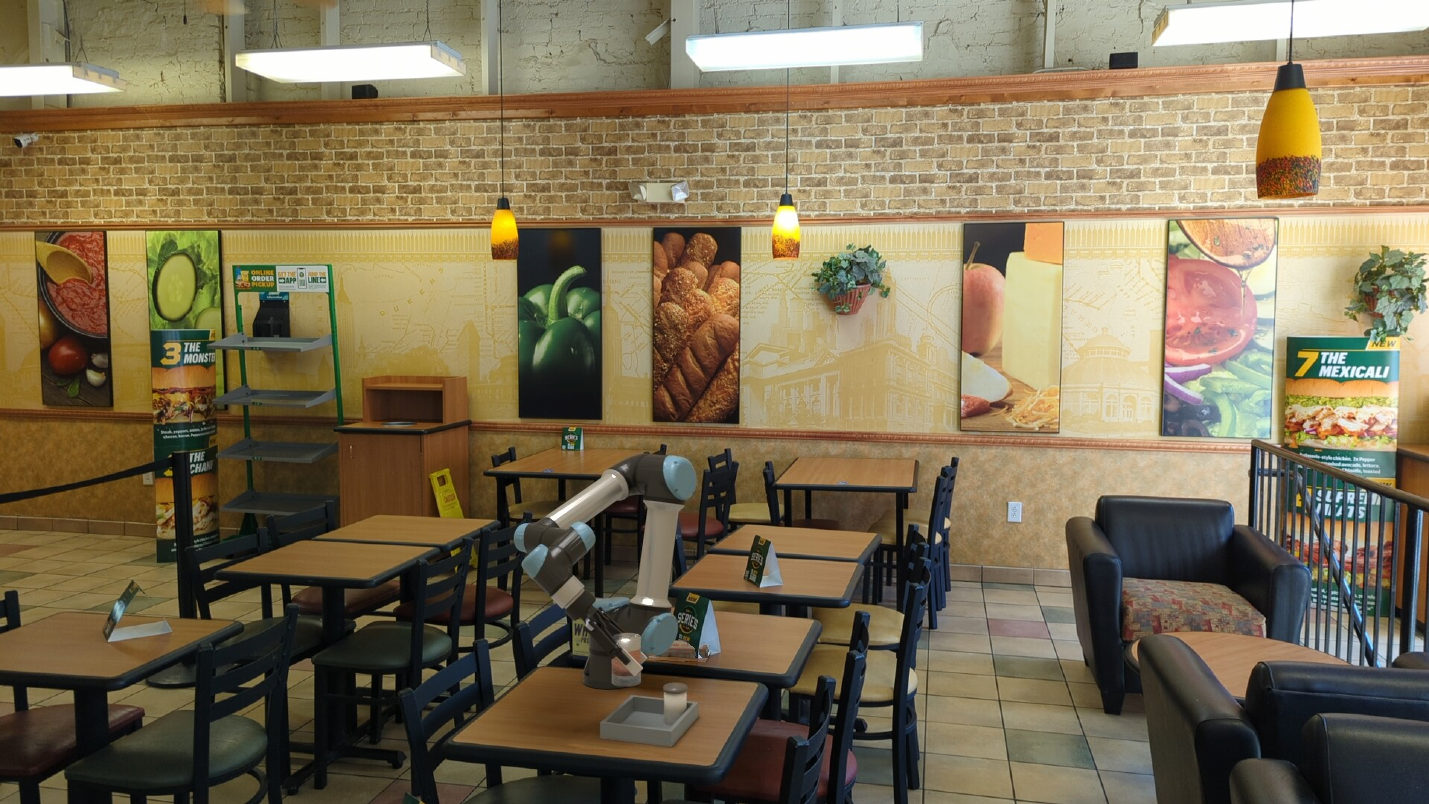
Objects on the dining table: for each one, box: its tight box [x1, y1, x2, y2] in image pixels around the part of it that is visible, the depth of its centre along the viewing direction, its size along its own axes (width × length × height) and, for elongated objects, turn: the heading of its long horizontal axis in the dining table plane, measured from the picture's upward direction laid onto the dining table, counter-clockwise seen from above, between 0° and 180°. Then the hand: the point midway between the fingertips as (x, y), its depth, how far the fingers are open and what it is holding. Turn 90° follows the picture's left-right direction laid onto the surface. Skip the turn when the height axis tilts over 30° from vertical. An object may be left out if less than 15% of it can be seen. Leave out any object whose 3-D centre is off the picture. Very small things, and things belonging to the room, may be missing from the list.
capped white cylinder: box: [663, 690, 688, 725], centre depth 245 cm, size 6×6×8 cm
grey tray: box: [599, 694, 699, 748], centre depth 241 cm, size 18×20×4 cm
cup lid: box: [662, 682, 688, 694], centre depth 245 cm, size 6×6×1 cm
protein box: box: [572, 596, 606, 662], centre depth 302 cm, size 10×16×16 cm
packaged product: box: [648, 639, 710, 661], centre depth 300 cm, size 18×5×10 cm
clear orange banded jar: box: [612, 633, 642, 688], centre depth 239 cm, size 7×7×11 cm
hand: (641, 666), depth 238 cm, fingers closed on clear orange banded jar, 7 cm apart
